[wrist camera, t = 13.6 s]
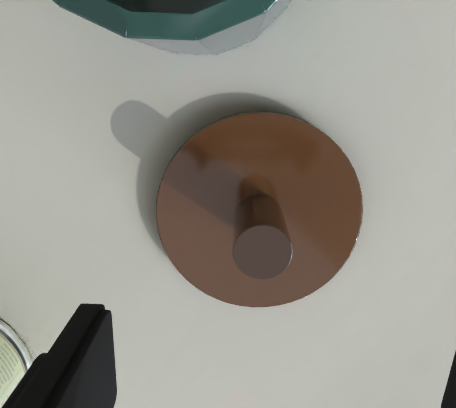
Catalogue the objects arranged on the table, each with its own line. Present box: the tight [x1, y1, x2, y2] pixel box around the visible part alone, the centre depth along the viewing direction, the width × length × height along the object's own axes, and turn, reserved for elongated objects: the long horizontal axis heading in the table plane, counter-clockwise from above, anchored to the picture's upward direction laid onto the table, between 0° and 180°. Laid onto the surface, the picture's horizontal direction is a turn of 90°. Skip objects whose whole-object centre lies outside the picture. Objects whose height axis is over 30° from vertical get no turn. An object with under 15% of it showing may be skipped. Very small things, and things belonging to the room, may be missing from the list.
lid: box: [156, 112, 363, 307], centre depth 22 cm, size 13×13×6 cm
